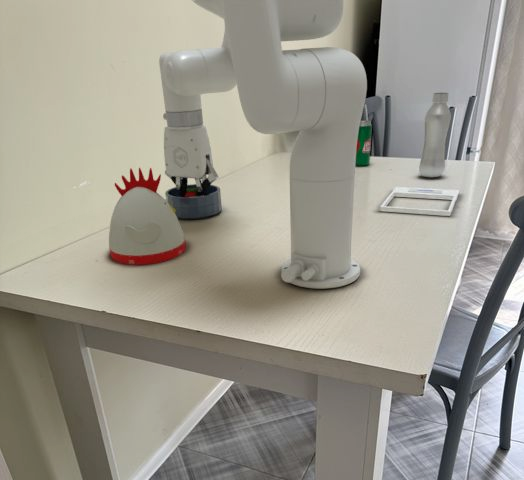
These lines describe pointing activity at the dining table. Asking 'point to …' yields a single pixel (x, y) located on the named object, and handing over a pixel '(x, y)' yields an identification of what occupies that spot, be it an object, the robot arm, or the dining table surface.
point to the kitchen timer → (144, 224)
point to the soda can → (363, 143)
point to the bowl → (195, 203)
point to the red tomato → (191, 192)
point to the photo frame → (421, 194)
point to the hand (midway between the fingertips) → (194, 206)
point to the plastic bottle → (435, 137)
